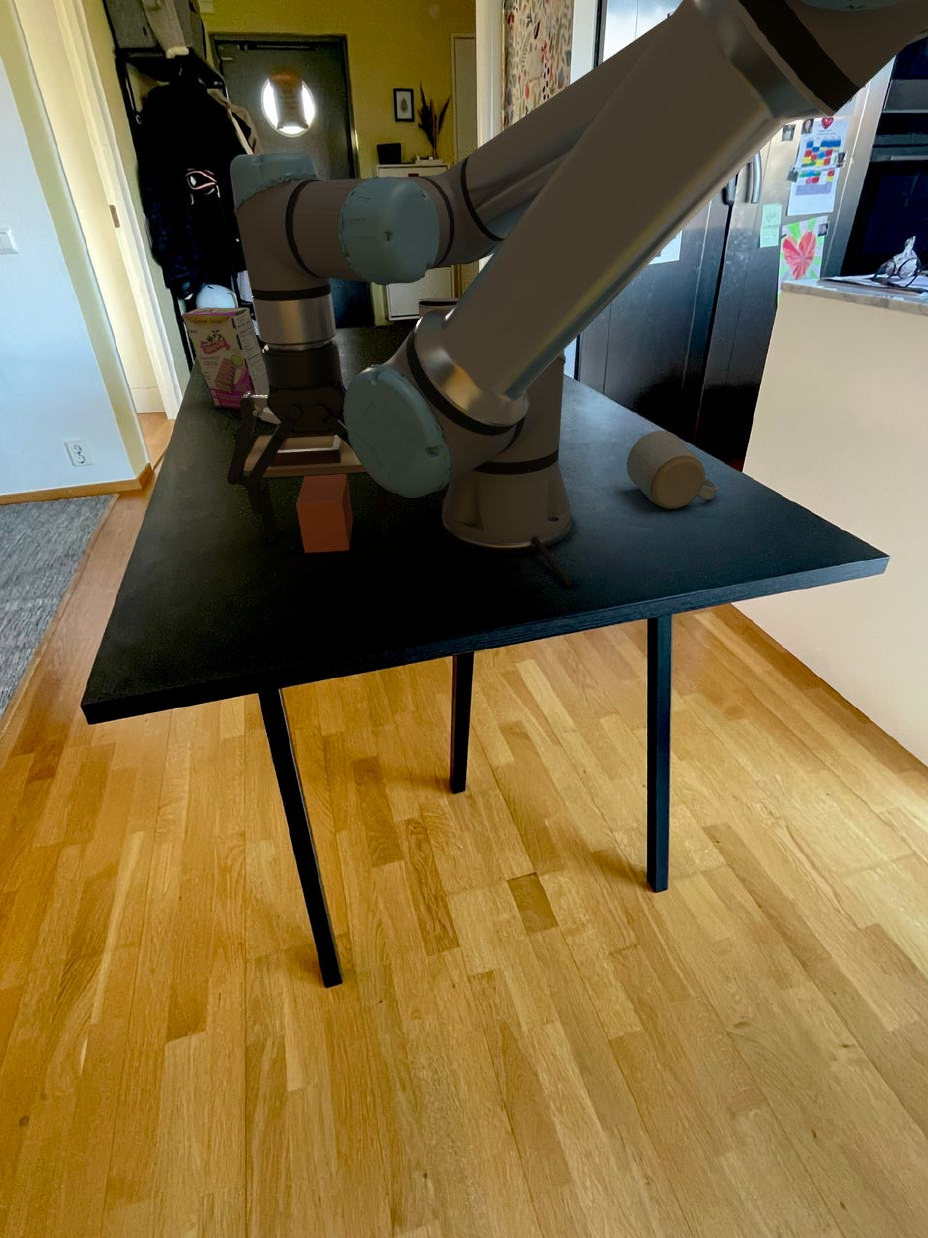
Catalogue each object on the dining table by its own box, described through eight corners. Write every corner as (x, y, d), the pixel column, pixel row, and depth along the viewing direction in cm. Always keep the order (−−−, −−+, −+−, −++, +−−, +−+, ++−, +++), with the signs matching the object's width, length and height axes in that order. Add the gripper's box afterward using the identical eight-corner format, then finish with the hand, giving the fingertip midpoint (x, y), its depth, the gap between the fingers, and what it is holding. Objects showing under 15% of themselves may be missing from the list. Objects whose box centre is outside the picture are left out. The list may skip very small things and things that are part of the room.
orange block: (349, 550, 75) (342, 501, 72) (304, 553, 75) (295, 504, 72) (353, 519, 82) (346, 473, 78) (312, 522, 82) (304, 476, 78)
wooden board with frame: (369, 472, 95) (367, 450, 93) (242, 479, 94) (237, 457, 92) (372, 437, 107) (370, 417, 105) (260, 443, 106) (256, 423, 104)
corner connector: (275, 402, 123) (274, 394, 122) (308, 411, 120) (307, 402, 119) (243, 414, 117) (242, 405, 116) (277, 424, 114) (276, 415, 113)
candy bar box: (212, 408, 122) (179, 314, 112) (230, 398, 126) (199, 306, 116) (261, 412, 118) (231, 314, 108) (277, 401, 122) (250, 305, 112)
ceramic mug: (647, 515, 80) (657, 454, 76) (622, 489, 87) (629, 431, 83) (728, 507, 82) (742, 447, 78) (697, 482, 89) (708, 425, 84)
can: (410, 355, 153) (406, 298, 147) (439, 345, 161) (437, 291, 154) (450, 361, 148) (448, 302, 141) (478, 350, 155) (477, 294, 149)
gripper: (421, 328, 70) (431, 514, 82) (183, 339, 69) (230, 526, 81) (423, 344, 64) (434, 542, 76) (162, 356, 62) (216, 555, 74)
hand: (329, 534), depth 78 cm, fingers open, 12 cm apart
